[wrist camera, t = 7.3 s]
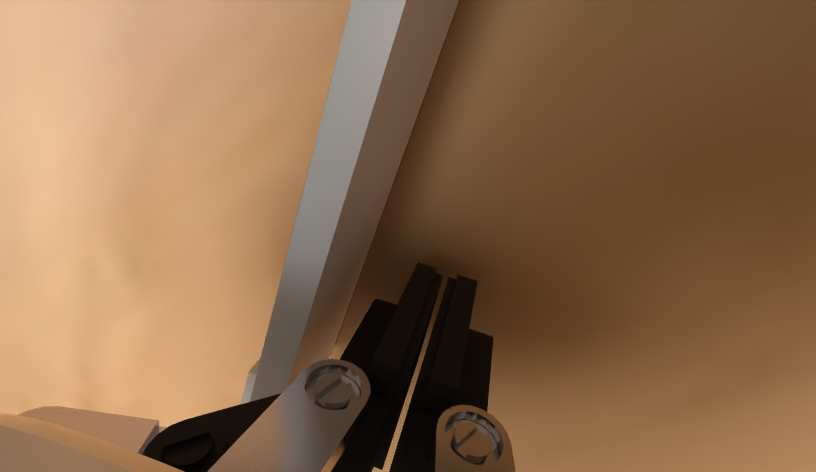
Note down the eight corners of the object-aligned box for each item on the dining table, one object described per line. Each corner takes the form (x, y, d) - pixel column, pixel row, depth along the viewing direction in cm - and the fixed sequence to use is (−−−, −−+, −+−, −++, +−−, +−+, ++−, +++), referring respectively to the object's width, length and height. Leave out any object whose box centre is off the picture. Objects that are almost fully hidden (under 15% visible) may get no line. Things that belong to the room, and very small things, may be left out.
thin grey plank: (330, 354, 14) (261, 467, 10) (297, 338, 14) (216, 444, 10) (482, -62, 8) (457, -164, 4) (425, -85, 8) (354, -203, 5)
